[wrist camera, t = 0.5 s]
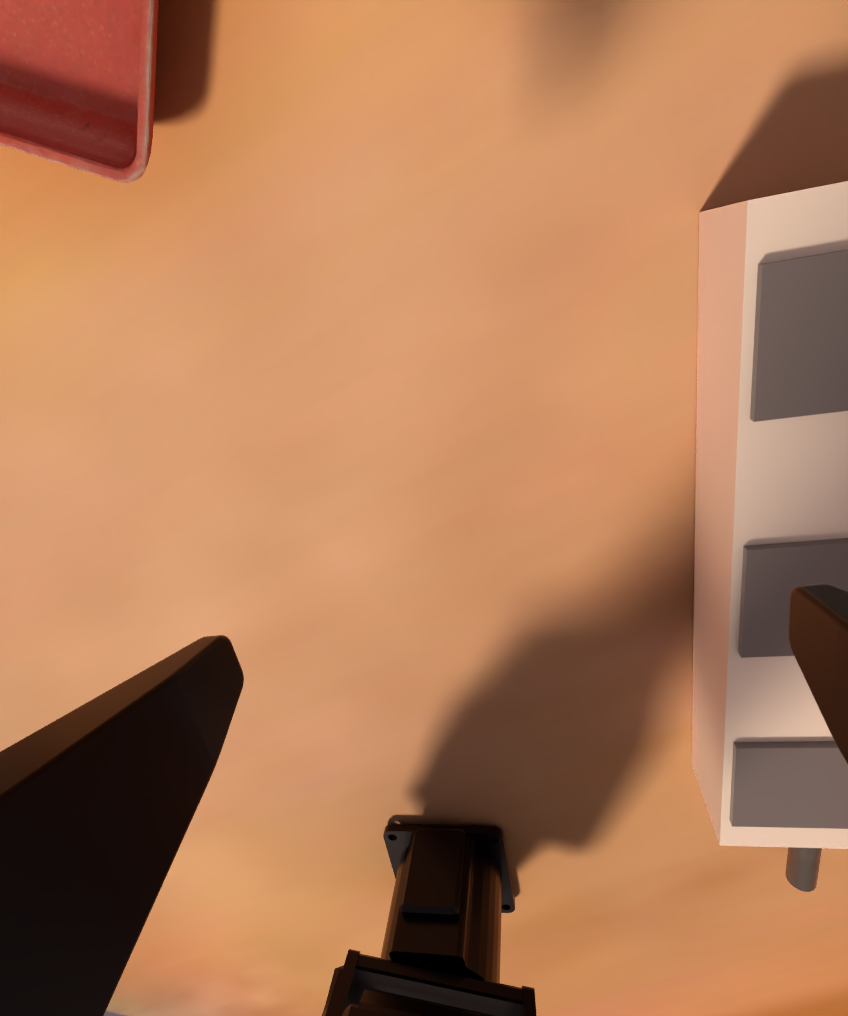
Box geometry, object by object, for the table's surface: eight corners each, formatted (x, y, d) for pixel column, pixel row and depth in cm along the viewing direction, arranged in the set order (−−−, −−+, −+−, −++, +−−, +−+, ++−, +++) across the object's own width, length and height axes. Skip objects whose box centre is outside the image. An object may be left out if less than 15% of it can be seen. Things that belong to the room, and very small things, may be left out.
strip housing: (895, 856, 26) (960, 960, 22) (690, 851, 28) (718, 945, 24) (1053, 143, 15) (1235, 105, 11) (699, 212, 17) (752, 199, 13)
